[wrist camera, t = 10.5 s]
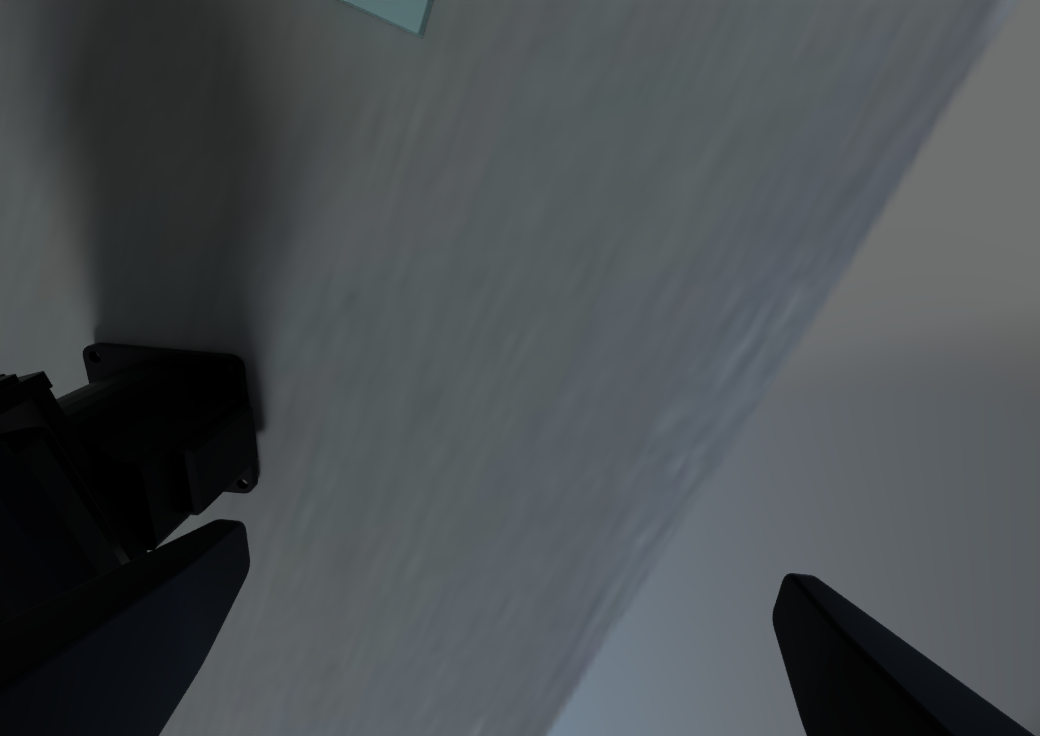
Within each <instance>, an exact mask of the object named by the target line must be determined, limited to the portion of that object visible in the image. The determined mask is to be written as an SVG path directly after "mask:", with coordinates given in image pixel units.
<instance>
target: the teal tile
mask: <svg viewBox="0 0 1040 736" xmlns="http://www.w3.org/2000/svg"><path fill="white" fill-rule="evenodd" d="M339 1H341V2H343V3H346V4H348V5H350V6H352V7H354V8H357V9H359V10H361V11H363V12H365V13H368V14H370V15H372V16H374V17H376V18H379V19H381V20H383V21H385V22H387V23H390V24H392V25H394V26H396V27H398V28H401V29H403V30H405V31H407V32H409V33H411V34H414V35H416V36H418V37H420V38H422V37H423V34H424V31H425V27H426V24H427V20H428V17H429V13H430V10H431V7H432V3H433V0H339Z"/></svg>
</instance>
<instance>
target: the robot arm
mask: <svg viewBox="0 0 1040 736" xmlns="http://www.w3.org/2000/svg"><path fill="white" fill-rule="evenodd" d="M97 353H98V354H99V355H100V356H101V359H100V358H99V357H98V355H97ZM83 358H84V363H85V367H86V371H87V376H88V380H89V384H88V385H86V386H84V387H82V388H79V389H77V390H75V391H73V392H71V393H69V394H66V395H64V396H62V397H60V398H58V399H56V398H55V397H54V395H53V393H52V392H51V390H50V388H51V387H53V386H52V384H51V382H50V381H49V379H48V377H47V376H46V374H45V372H44V371H41V372H37V373H33V374H29V375H25V376H21V377H17V376H16V374H12V375H7V376H6V375H5V374H1V375H0V736H159V735H160V733H161V731H162V730H163V728H164V726H165V725H166V723H167V722H168V720H169V718H170V717H171V715H172V714H173V712H174V710H175V709H176V707H177V706H178V704H179V702H180V701H181V699H182V697H183V696H184V694H185V693H186V691H187V689H188V688H189V686H190V685H191V683H192V681H193V680H194V678H195V676H196V675H197V673H198V671H199V670H200V668H201V666H202V664H203V663H204V661H205V659H206V657H207V655H208V653H209V651H210V649H211V647H212V645H213V643H214V641H215V639H216V637H217V635H218V633H219V631H220V629H221V627H222V625H223V623H224V621H225V619H226V617H227V615H228V613H229V611H230V609H231V607H232V605H233V603H234V601H235V599H236V597H237V595H238V593H239V591H240V589H241V587H242V585H243V583H244V581H245V579H246V577H247V574H248V571H249V567H250V556H249V548H248V541H247V533H246V528H245V525H244V524H243V523H242V522H240V521H235V520H224V519H218V520H215V521H212V522H210V523H208V524H206V525H204V526H202V527H200V528H198V529H196V530H194V531H192V532H189V533H187V534H185V535H183V536H181V537H179V538H177V539H175V540H173V541H171V542H169V543H167V544H165V545H162V546H160V547H158V548H156V547H157V546H159V545H160V544H161V543H162V542H163V541H164V540H165V539H166V538H167V537H168V536H169V535H170V534H171V533H172V532H173V531H174V530H175V529H176V528H177V527H178V526H179V525H180V524H182V523H183V522H184V521H185V520H186V519H187V518H188V517H189V516H190V515H199V514H201V513H202V512H203V511H204V510H205V509H206V508H207V507H208V506H209V505H210V504H211V503H212V502H213V501H214V500H215V499H217V498H218V497H219V496H220V495H221V494H222V493H223V492H233V493H249V492H251V491H252V490H253V489H254V487H255V486H256V485H257V484H258V476H257V468H256V459H257V457H258V455H257V446H256V438H255V429H254V420H253V412H252V408H251V406H250V405H249V400H248V392H247V384H246V375H245V367H244V363H243V361H242V360H241V359H240V358H239V357H238V356H236V355H233V354H224V353H213V352H201V351H190V350H178V349H167V348H156V347H144V346H133V345H121V344H110V343H95V344H92V345H90V346H87V347H86V348H84V350H83ZM227 363H228V364H230V365H231V366H232V367H233V371H231V370H229V369H228V368H227ZM242 479H243V480H245V481H246V482H247V483H248V484H246V483H244V482H243V481H242ZM155 548H156V549H155ZM147 550H152V551H150V552H147ZM773 626H774V630H775V633H776V637H777V640H778V644H779V647H780V650H781V654H782V657H783V660H784V664H785V667H786V671H787V674H788V677H789V681H790V684H791V688H792V691H793V694H794V698H795V702H796V705H797V708H798V711H799V715H800V718H801V721H802V724H803V726H804V729H805V732H806V735H807V736H1035V735H1033V734H1032V733H1031V732H1029V731H1028V730H1026V729H1025V728H1024V727H1022V726H1021V725H1020V724H1018V723H1017V722H1015V721H1014V720H1013V719H1011V718H1010V717H1009V716H1007V715H1006V714H1004V713H1003V712H1002V711H1000V710H999V709H997V708H996V707H995V706H993V705H992V704H991V703H989V702H988V701H986V700H985V699H984V698H982V697H981V696H979V695H978V694H977V693H975V692H974V691H973V690H971V689H970V688H969V687H967V686H966V685H964V684H963V683H962V682H960V681H959V680H957V679H956V678H955V677H953V676H952V675H950V674H949V673H948V672H946V671H945V670H943V669H942V668H941V667H940V666H938V665H937V664H935V663H934V662H933V661H931V660H930V659H928V658H927V657H926V656H924V655H923V654H921V653H920V652H918V651H917V650H916V649H915V648H913V647H912V646H910V645H909V644H908V643H906V642H905V641H904V640H902V639H901V638H900V637H898V636H897V635H895V634H894V633H893V632H891V631H890V630H888V629H887V628H886V627H884V626H883V625H881V624H880V623H879V622H877V621H876V620H875V619H873V618H872V617H870V616H869V615H868V614H866V613H865V612H864V611H862V610H861V609H859V608H858V607H857V606H855V605H854V604H853V603H851V602H850V601H848V600H847V599H846V598H844V597H843V596H842V595H840V594H839V593H837V592H836V591H835V590H833V589H832V588H831V587H829V586H828V585H826V584H825V583H824V582H822V581H821V580H819V579H818V578H816V577H815V576H812V575H806V574H796V573H790V574H787V575H786V576H785V577H784V579H783V581H782V584H781V587H780V591H779V594H778V597H777V600H776V603H775V606H774V609H773Z"/></svg>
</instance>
